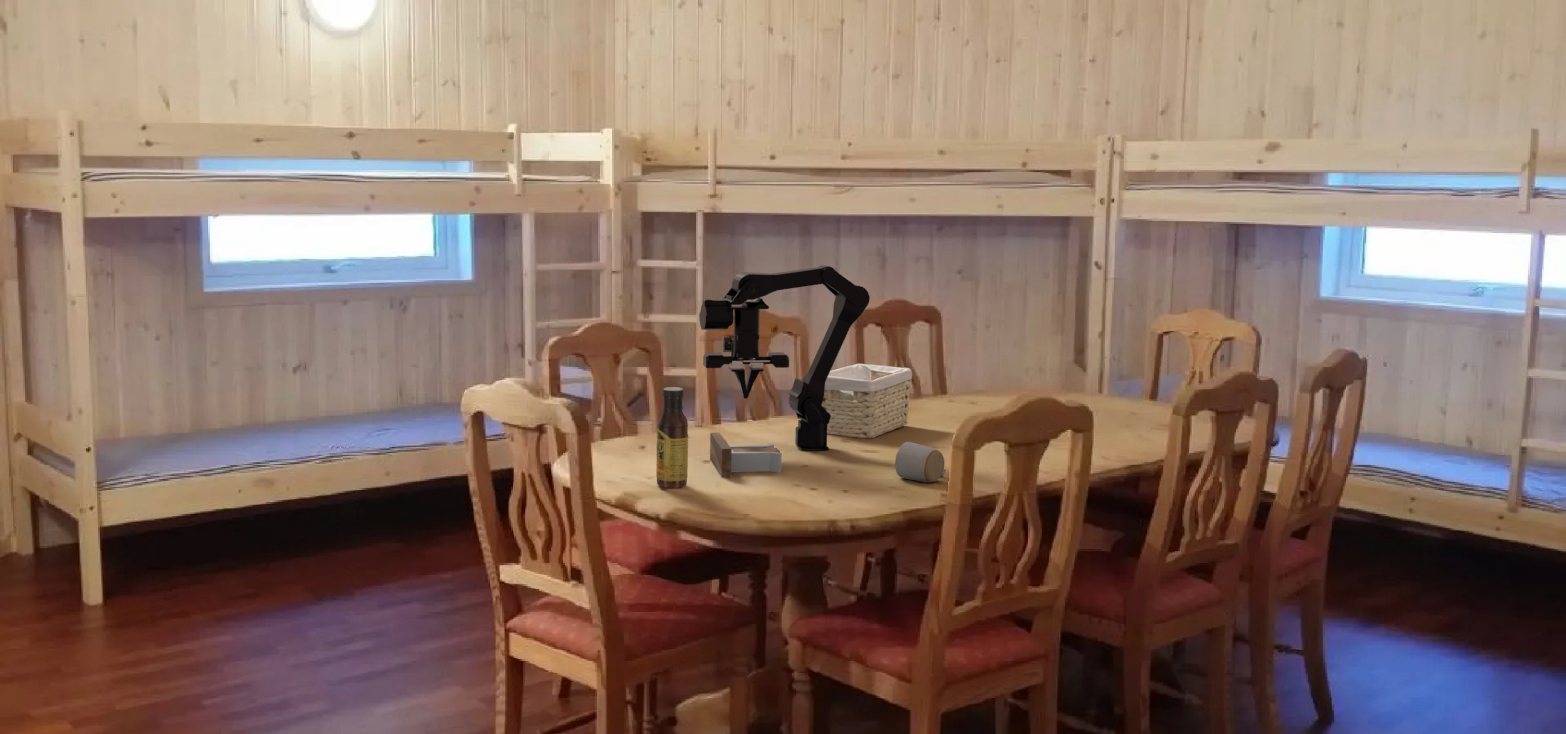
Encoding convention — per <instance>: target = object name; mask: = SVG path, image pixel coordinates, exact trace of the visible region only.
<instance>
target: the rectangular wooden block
mask: <svg viewBox="0 0 1566 734" xmlns="http://www.w3.org/2000/svg"><path fill="white" fill-rule="evenodd" d="M732 450H733V451H734V452H777V453H781V451H780V450H779V449H778V448H777V447H774V448H740V449H732Z"/></svg>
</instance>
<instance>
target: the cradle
mask: <svg viewBox="0 0 1566 734" xmlns="http://www.w3.org/2000/svg"><path fill="white" fill-rule="evenodd" d="M729 446H730V447H731V449H740V448H775V444H772V443H768V444H764V445H762V444H760V445H729ZM782 454H783V453H781V452H780V453H777V452H734V451H733V450H732V452H731V473H749V472H753V473H754V472H755V473H756V472H773V473H781V472H782Z"/></svg>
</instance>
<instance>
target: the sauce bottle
mask: <svg viewBox="0 0 1566 734" xmlns="http://www.w3.org/2000/svg"><path fill="white" fill-rule="evenodd" d="M662 395H663V408H662V412H661V416H660V418H659V420H658V423H657V426H656V468H655V469H656V471H655V472H656V475H655V477H656V484H657V485H658V486H659V487H661V488H663V489H664V488H665V489H666V488H667V489H668V488H669V489H681V488H684V487H686V485H687V484H688V483H687V482H688V481H687V480H688V470H689V469H688V466H689V465H688V463H689V460H688V458H689V457H688V456H689V455H688V453H689V434H688V432H689V428H688V427H689V424H688V419H687V416H686V415H685V413H684V412H683V408H684V406H683V398H684V388H682V387H676V386H668V387H664V388H663V389H662Z"/></svg>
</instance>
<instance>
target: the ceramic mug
mask: <svg viewBox="0 0 1566 734" xmlns="http://www.w3.org/2000/svg"><path fill="white" fill-rule="evenodd" d="M894 468H895V472H896V474H897V476H898V477H899V478H902V479H907V480H911V481H917V482H920V483H926V484H927V483H930V484H931V483H935V482H938V480H939V479H940V478H943V477H945V475H946V469H945V458H944V456H943V453H942V451H940V450H938V449H937V448H934V447H931V446H926V445H924V444H923V445H922V444H919V443H916V442H912V441H906V442H904V443H902V444H901V445H900V447H899V448H898V450H897V452H896V455H895V460H894Z"/></svg>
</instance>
